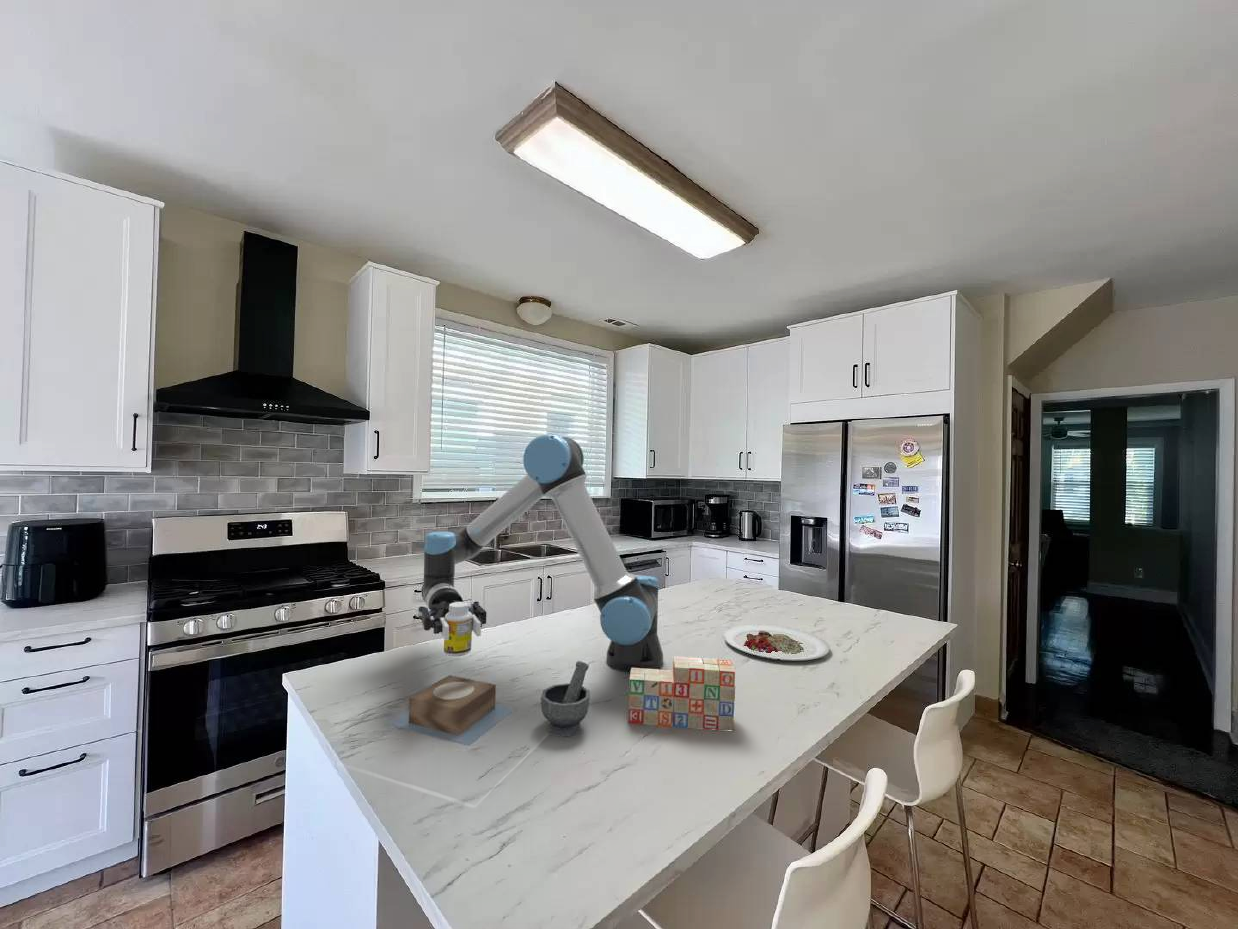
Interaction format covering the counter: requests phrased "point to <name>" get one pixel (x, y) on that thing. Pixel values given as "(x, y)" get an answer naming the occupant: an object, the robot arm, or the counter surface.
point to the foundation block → (452, 704)
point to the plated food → (776, 641)
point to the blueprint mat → (463, 738)
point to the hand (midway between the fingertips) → (463, 631)
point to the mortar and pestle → (566, 703)
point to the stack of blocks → (684, 694)
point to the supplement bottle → (458, 629)
